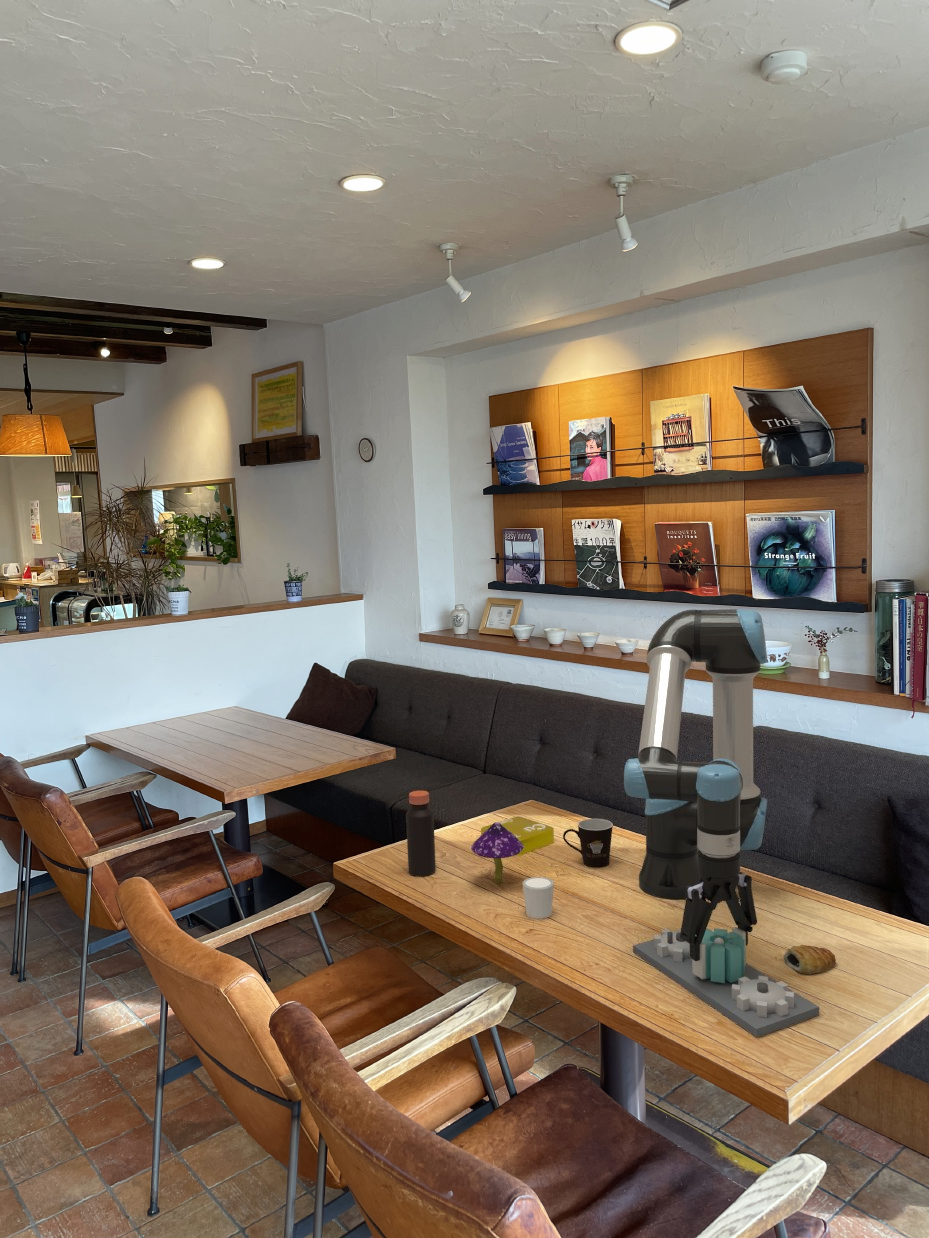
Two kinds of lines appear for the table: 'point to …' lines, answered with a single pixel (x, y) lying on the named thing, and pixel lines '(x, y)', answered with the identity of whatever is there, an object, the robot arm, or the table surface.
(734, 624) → the robot arm
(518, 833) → the element tile
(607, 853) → the coffee mug
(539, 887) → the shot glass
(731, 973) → the idler gear
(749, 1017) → the gear board
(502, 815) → the table surface
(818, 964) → the pastry
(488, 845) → the decorative mushroom
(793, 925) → the table surface
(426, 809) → the bottle
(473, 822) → the table surface
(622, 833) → the table surface
